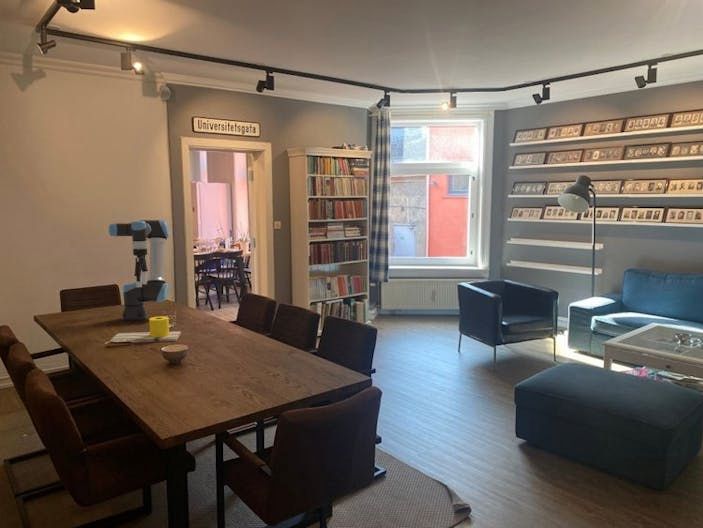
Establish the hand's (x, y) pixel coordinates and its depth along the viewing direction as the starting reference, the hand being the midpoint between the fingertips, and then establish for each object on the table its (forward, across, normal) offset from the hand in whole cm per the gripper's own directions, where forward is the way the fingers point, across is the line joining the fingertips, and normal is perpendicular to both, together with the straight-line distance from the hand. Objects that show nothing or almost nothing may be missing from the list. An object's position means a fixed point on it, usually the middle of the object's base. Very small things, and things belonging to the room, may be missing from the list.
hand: (141, 284), depth 301 cm
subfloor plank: (+27, +17, +5) cm, 32 cm away
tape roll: (+25, +17, +12) cm, 33 cm away
